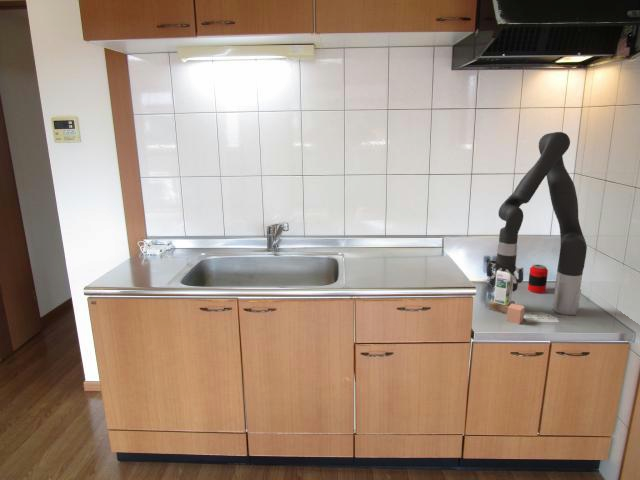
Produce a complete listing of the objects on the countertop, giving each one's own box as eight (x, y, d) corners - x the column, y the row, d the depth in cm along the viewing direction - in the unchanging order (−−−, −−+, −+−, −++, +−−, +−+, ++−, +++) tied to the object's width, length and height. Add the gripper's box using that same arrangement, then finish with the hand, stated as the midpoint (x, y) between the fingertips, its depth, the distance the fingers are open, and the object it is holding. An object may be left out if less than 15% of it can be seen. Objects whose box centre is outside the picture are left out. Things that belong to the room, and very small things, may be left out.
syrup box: (493, 303, 192) (496, 271, 188) (497, 298, 196) (500, 267, 192) (507, 306, 188) (510, 273, 184) (511, 301, 193) (514, 269, 189)
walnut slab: (514, 308, 194) (514, 301, 193) (508, 314, 188) (508, 307, 187) (495, 303, 199) (496, 297, 198) (488, 309, 193) (489, 303, 192)
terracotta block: (523, 319, 183) (524, 306, 181) (519, 324, 179) (520, 310, 177) (510, 316, 186) (511, 303, 184) (506, 320, 182) (507, 307, 180)
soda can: (542, 287, 215) (544, 264, 212) (547, 293, 208) (550, 269, 205) (525, 287, 216) (528, 263, 213) (530, 293, 209) (533, 269, 206)
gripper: (527, 253, 185) (523, 289, 189) (493, 247, 193) (490, 282, 198) (522, 257, 179) (518, 295, 183) (486, 251, 188) (483, 287, 192)
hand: (503, 288), depth 191 cm, fingers open, 8 cm apart
